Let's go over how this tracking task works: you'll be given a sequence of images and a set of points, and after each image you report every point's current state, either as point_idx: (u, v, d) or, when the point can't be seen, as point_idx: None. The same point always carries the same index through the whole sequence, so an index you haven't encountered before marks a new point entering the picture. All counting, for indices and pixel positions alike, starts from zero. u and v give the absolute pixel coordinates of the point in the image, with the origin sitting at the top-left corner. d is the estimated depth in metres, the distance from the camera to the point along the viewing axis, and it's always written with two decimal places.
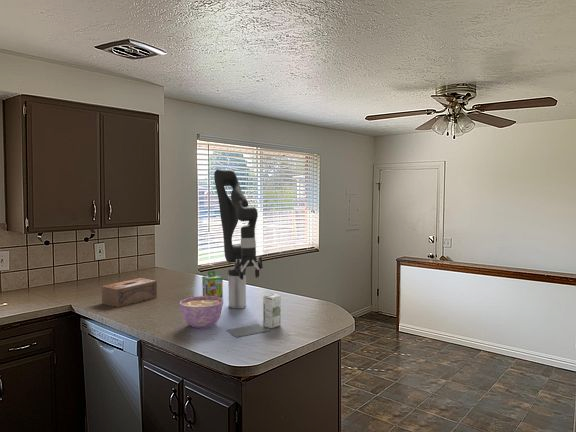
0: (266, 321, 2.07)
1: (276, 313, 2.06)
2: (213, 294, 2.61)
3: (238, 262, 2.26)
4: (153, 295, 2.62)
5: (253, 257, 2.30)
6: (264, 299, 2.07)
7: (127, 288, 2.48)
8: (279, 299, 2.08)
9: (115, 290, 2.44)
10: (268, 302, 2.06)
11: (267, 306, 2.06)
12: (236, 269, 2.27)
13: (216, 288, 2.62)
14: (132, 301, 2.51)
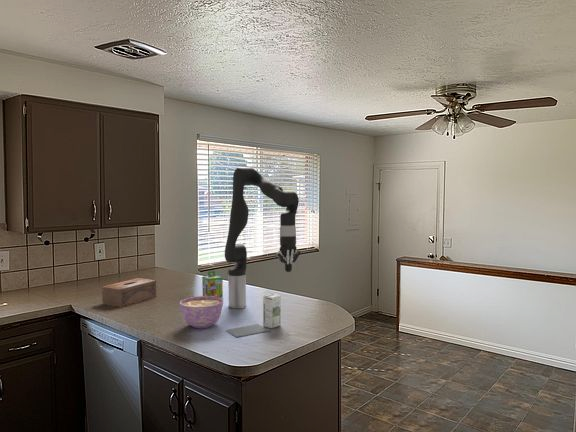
0: (266, 321, 2.07)
1: (276, 313, 2.06)
2: (213, 294, 2.61)
3: (280, 256, 2.08)
4: (153, 294, 2.64)
5: (294, 245, 2.12)
6: (264, 299, 2.07)
7: (129, 288, 2.48)
8: (279, 299, 2.08)
9: (118, 290, 2.44)
10: (268, 302, 2.06)
11: (267, 306, 2.06)
12: None
13: (216, 288, 2.62)
14: (133, 301, 2.51)
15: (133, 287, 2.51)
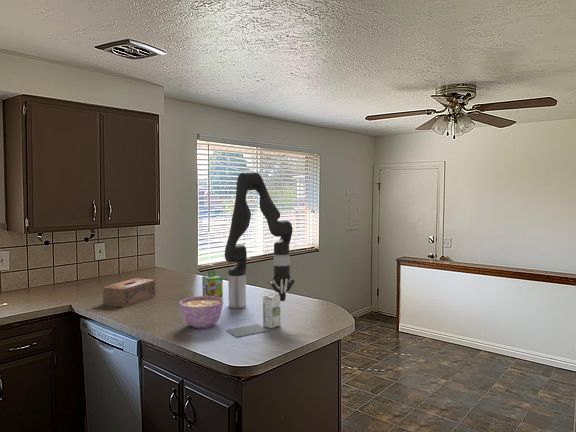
0: (265, 321, 2.07)
1: (276, 312, 2.06)
2: (213, 294, 2.61)
3: (274, 285, 2.07)
4: (152, 294, 2.65)
5: (288, 274, 2.11)
6: (264, 299, 2.07)
7: (131, 288, 2.49)
8: (279, 299, 2.07)
9: (121, 290, 2.44)
10: (268, 302, 2.05)
11: (267, 306, 2.06)
12: None
13: (216, 288, 2.62)
14: (135, 301, 2.52)
15: (135, 287, 2.51)
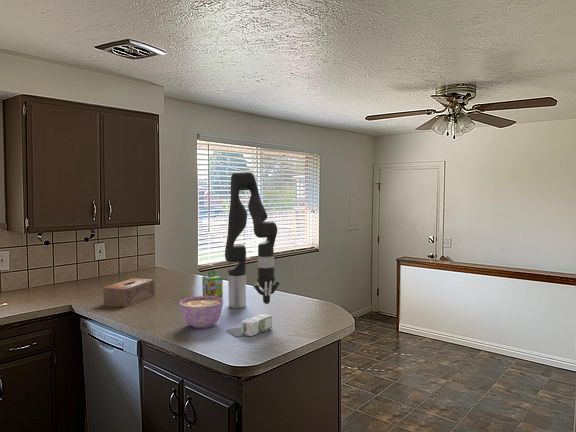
0: None
1: (262, 325, 1.99)
2: (213, 294, 2.61)
3: (257, 288, 2.02)
4: (152, 293, 2.66)
5: (273, 277, 2.06)
6: None
7: (133, 288, 2.49)
8: (253, 324, 1.95)
9: (123, 290, 2.44)
10: None
11: None
12: None
13: (216, 288, 2.62)
14: (136, 301, 2.52)
15: (136, 287, 2.52)
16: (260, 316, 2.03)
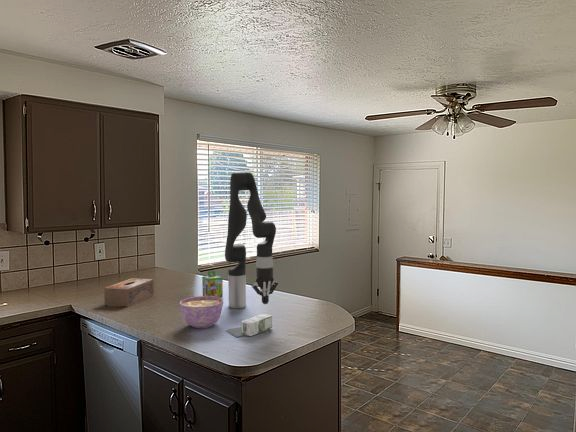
0: None
1: (262, 325, 1.99)
2: (213, 294, 2.61)
3: (256, 288, 2.02)
4: (151, 293, 2.66)
5: (271, 277, 2.06)
6: None
7: (134, 287, 2.50)
8: (253, 324, 1.95)
9: (124, 290, 2.44)
10: None
11: None
12: (259, 293, 2.04)
13: (216, 288, 2.62)
14: (137, 301, 2.53)
15: (137, 286, 2.52)
16: (260, 316, 2.03)
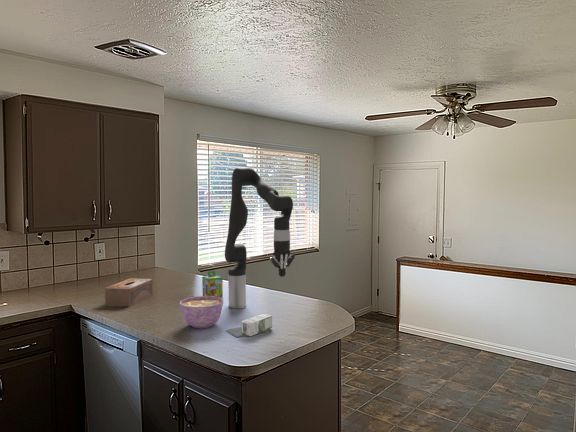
0: None
1: (262, 325, 1.99)
2: (213, 294, 2.61)
3: (273, 260, 2.06)
4: (150, 293, 2.67)
5: (288, 250, 2.10)
6: None
7: (135, 287, 2.50)
8: (253, 324, 1.95)
9: (126, 290, 2.44)
10: None
11: None
12: (276, 265, 2.08)
13: (216, 288, 2.62)
14: (138, 300, 2.53)
15: (137, 286, 2.53)
16: (260, 316, 2.03)
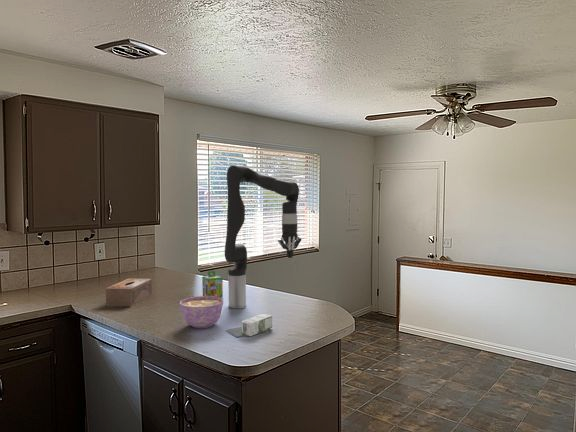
0: None
1: (262, 325, 1.99)
2: (213, 294, 2.61)
3: (282, 242, 2.19)
4: (150, 293, 2.68)
5: (296, 233, 2.23)
6: None
7: (136, 287, 2.50)
8: (253, 324, 1.95)
9: (128, 290, 2.44)
10: None
11: None
12: None
13: (216, 288, 2.62)
14: (139, 300, 2.54)
15: (138, 286, 2.53)
16: (260, 316, 2.03)
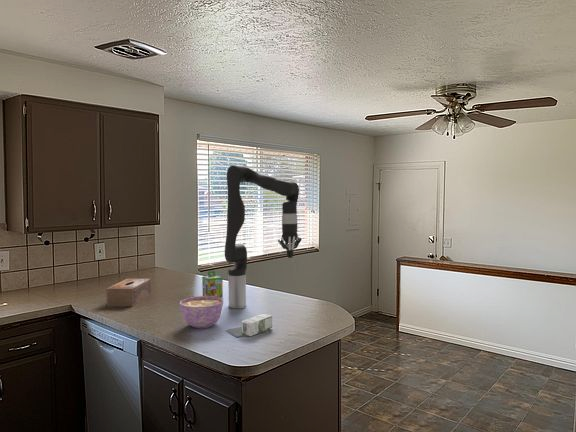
0: None
1: (262, 325, 1.99)
2: (213, 294, 2.61)
3: (282, 242, 2.19)
4: (149, 292, 2.68)
5: (296, 233, 2.23)
6: None
7: (137, 287, 2.51)
8: (253, 324, 1.95)
9: (129, 290, 2.44)
10: None
11: None
12: None
13: (216, 288, 2.62)
14: (139, 300, 2.54)
15: (139, 286, 2.53)
16: (260, 316, 2.03)
